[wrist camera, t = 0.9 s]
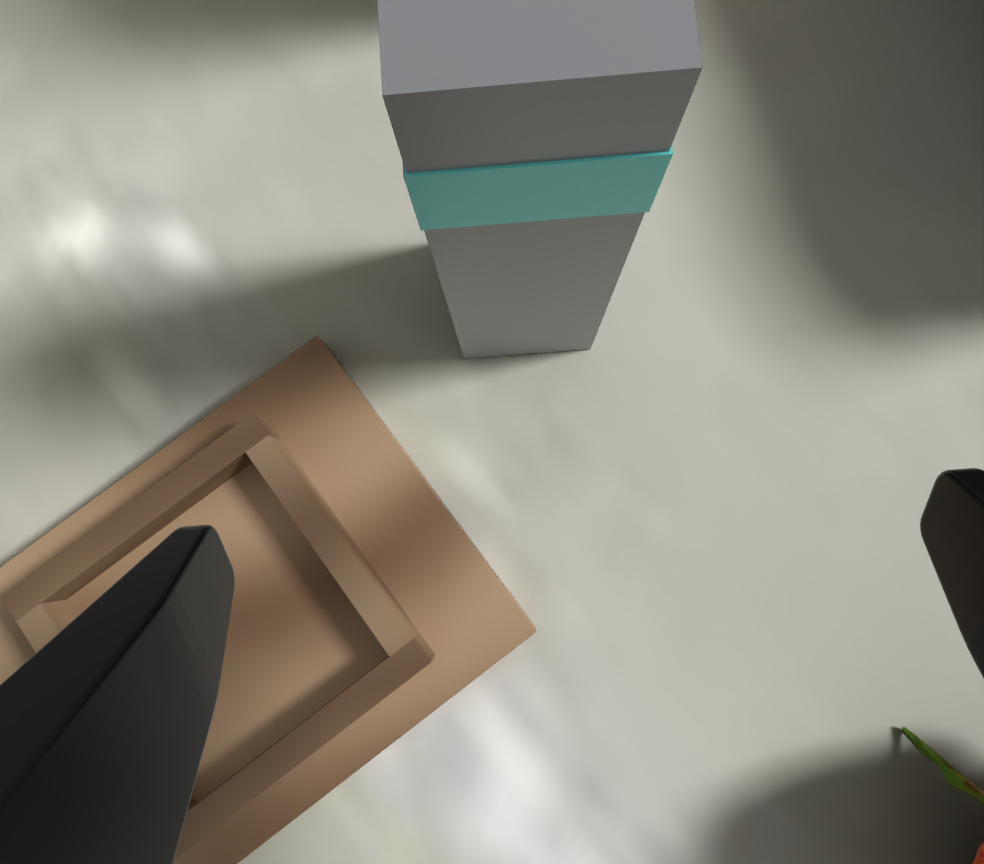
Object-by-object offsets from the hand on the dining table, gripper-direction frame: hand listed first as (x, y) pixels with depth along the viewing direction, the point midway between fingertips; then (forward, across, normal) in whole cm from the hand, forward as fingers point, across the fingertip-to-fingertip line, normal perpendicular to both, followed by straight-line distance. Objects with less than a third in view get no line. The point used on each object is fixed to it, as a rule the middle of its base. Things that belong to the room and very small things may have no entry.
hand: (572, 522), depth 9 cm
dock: (+7, +11, +12) cm, 17 cm away
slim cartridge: (+15, 0, +4) cm, 15 cm away
